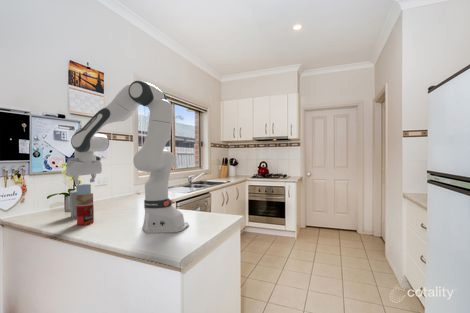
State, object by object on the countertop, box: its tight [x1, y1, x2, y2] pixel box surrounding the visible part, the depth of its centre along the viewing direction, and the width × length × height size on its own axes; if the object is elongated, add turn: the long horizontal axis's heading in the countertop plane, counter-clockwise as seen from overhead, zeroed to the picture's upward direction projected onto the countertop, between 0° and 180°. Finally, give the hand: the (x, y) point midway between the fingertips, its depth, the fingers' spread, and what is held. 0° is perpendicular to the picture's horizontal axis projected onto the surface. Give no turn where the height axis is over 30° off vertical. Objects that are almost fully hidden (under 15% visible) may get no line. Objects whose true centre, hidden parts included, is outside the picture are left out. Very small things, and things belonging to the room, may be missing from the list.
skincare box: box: [69, 189, 77, 219], centre depth 140 cm, size 8×7×16 cm
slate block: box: [75, 183, 92, 195], centre depth 123 cm, size 4×4×5 cm
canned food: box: [76, 202, 95, 226], centre depth 123 cm, size 8×8×11 cm
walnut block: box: [76, 192, 94, 205], centre depth 123 cm, size 6×6×5 cm
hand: (85, 183), depth 125 cm, fingers open, 8 cm apart
